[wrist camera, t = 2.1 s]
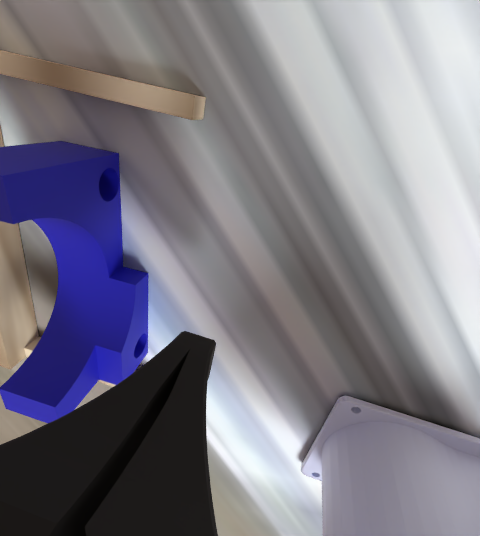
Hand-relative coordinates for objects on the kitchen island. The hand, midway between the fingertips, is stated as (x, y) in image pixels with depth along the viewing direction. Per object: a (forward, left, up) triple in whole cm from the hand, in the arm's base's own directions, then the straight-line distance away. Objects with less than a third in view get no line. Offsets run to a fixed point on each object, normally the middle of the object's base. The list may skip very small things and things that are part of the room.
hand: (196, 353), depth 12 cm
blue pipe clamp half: (+7, 0, -5) cm, 8 cm away
